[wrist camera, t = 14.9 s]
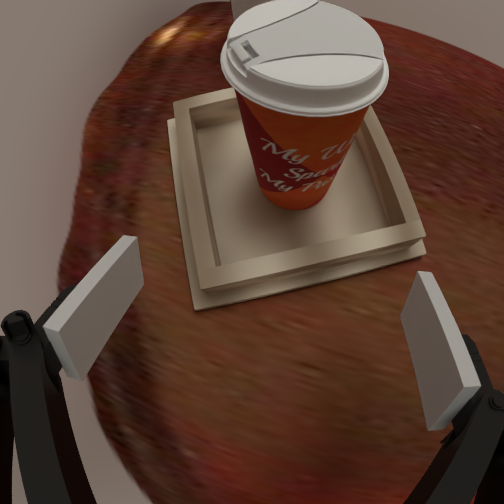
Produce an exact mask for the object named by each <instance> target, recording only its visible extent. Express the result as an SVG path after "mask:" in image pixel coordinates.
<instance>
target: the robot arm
mask: <svg viewBox="0 0 504 504" xmlns="http://www.w3.org/2000/svg"><path fill="white" fill-rule="evenodd" d="M143 285H144V280H143V273H142V267H141V260H140V253H139V246H138V239H137V237H134V236H125V235H123V236H122V237H121V238H120V239H119V240H118V242H117V243H116V244H115V245H114V246H113V247H112V248H111V249H110V250H109V251H108V252H107V253H106V254H105V255H104V256H103V257H102V258H101V260H100V261H99V262H98V263H97V264H96V265H95V266H94V267H93V268H92V269H91V270H90V272H89V273H88V274H87V275H86V276H85V277H84V278H83V279H82V281H81V282H80V283H79V284H78V285H77V286H76V285H71V286H70V287H68V288H66V289H65V290H63V291H62V292H61V293H60V295H59V296H58V297H57V298H56V300H54V301H53V303H52V304H51V306H49V307H48V309H46V311H45V312H44V313H43V314H42V315H41V317H40V318H39V319H38V320H37V321H36V323H35V324H33V322H32V319H31V317H30V315H29V313H27V312H26V311H23V310H18V311H14V312H12V313H10V314H9V315H7V316H6V317H5V318H4V319H3V321H2V323H1V328H2V330H3V332H4V334H5V335H6V336H0V504H12V460H13V459H12V458H13V443H14V437H15V443H16V450H17V455H18V461H19V467H20V472H21V477H22V481H23V486H24V490H25V494H26V498H27V501H28V504H97V503H96V500H95V498H94V495H93V493H92V490H91V487H90V485H89V482H88V479H87V476H86V473H85V470H84V467H83V464H82V461H81V458H80V455H79V451H78V448H77V445H76V441H75V438H74V434H73V430H72V427H71V423H70V419H69V414H68V410H67V406H66V401H65V397H64V392H63V387H62V382H61V378H60V376H59V371H60V370H61V368H62V367H63V369H64V371H65V373H66V375H67V376H68V377H71V378H74V379H76V380H79V381H83V380H84V378H85V376H86V375H87V373H88V371H89V370H90V368H91V366H92V365H93V363H94V361H95V360H96V358H97V356H98V355H99V353H100V352H101V350H102V348H103V347H104V345H105V343H106V342H107V340H108V339H109V337H110V336H111V334H112V332H113V331H114V329H115V328H116V326H117V324H118V323H119V321H120V320H121V318H122V317H123V315H124V314H125V312H126V311H127V309H128V308H129V306H130V304H131V303H132V301H133V300H134V298H135V297H136V295H137V294H138V292H139V291H140V289H141V288H142V286H143ZM400 318H401V322H402V325H403V329H404V332H405V336H406V339H407V343H408V346H409V350H410V354H411V358H412V362H413V366H414V370H415V374H416V378H417V382H418V387H419V391H420V395H421V400H422V405H423V410H424V415H425V420H426V425H427V430H428V431H430V430H442V429H445V428H446V427H447V426H448V424H449V423H450V422H451V421H452V424H453V428H454V429H453V430H452V431H451V432H450V433H449V434H448V435H447V436H446V437H445V438H444V439H443V440H442V441H441V442H440V443H441V444H442V443H443V442H444V444H443V445H442V447H441V449H440V450H439V452H438V454H437V455H436V457H435V458H434V460H433V462H432V463H431V465H430V466H429V468H428V469H427V471H426V472H425V474H424V475H423V477H422V478H421V480H420V481H419V483H418V484H417V486H416V487H415V488H414V490H413V491H412V493H411V494H410V495H409V497H408V498H407V499H406V501H405V502H404V503H403V504H470V502H471V500H472V499H473V497H474V495H475V493H476V491H477V493H476V497H475V501H474V504H504V394H503V393H501V392H500V391H498V390H494V389H493V387H492V384H491V381H490V379H489V376H488V373H487V371H486V368H485V366H484V363H482V359H481V356H480V355H479V351H478V349H477V347H476V345H475V343H474V342H473V340H472V339H471V338H470V337H469V336H468V335H462V334H461V333H460V331H459V329H458V326H457V324H456V322H455V320H454V318H453V315H452V313H451V311H450V309H449V307H448V305H447V303H446V300H445V298H444V296H443V294H442V292H441V290H440V288H439V286H438V284H437V282H436V280H435V278H434V276H433V275H432V273H431V272H422V271H417V274H416V277H415V279H414V282H413V285H412V287H411V290H410V293H409V295H408V298H407V300H406V303H405V305H404V308H403V310H402V313H401V315H400ZM477 489H478V490H477Z"/></svg>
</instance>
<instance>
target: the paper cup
mask: <svg viewBox="0 0 504 504" xmlns="http://www.w3.org/2000/svg"><path fill="white" fill-rule="evenodd" d="M383 51H384V48H383V45H382V42H381V40H380V38H379V36H378V34H377V33H376V31H375V30H374V29H373V28H372V27H371V26H370V25H369V24H368V23H367V22H365V21H364V20H363V19H362V18H360V17H359V16H357V15H356V14H354V13H352V12H350V11H348V10H346V9H344V8H341V7H339V6H335V5H333V4H329V3H326V2H323V1H319V0H274V1H270V2H266V3H263V4H260V5H257V6H255V7H253V8H251V9H249V10H247V11H246V12H244V13H243V14H242V15H240V16H239V17H238V18H237V19H236V20H235V22H234V23H233V25H232V26H231V28H230V30H229V33H228V36H227V41H226V42H225V44H224V46H223V49H222V52H221V66H222V71H223V73H224V75H225V77H226V79H227V80H228V82H229V83H230V84H231V86H232V87H233V88H234V90H235V93H236V97H237V101H238V105H239V109H240V113H241V118H242V122H243V127H244V131H245V136H246V139H247V143H248V146H249V150H250V154H251V157H252V161H253V165H254V169H255V173H256V176H257V180H258V183H259V186H260V188H261V191H262V192H263V194H264V195H265V197H266V198H267V199H268V200H269V201H270V202H272V203H273V204H274V205H276V206H278V207H280V208H283V209H287V210H304V209H307V208H310V207H312V206H314V205H316V204H317V203H318V202H319V201H320V200H321V199H322V198H323V197H324V196H325V194H326V193H327V191H328V190H329V188H330V186H331V184H332V182H333V180H334V178H335V176H336V174H337V172H338V170H339V168H340V166H341V164H342V162H343V160H344V158H345V156H346V154H347V152H348V150H349V148H350V146H351V144H352V142H353V140H354V138H355V136H356V134H357V131H358V129H359V127H360V125H361V123H362V121H363V119H364V117H365V114H366V112H367V110H368V108H369V106H370V104H372V103H373V102H374V101H375V100H377V99H378V98H379V97H380V96H381V94H382V93H383V91H384V90H385V88H386V85H387V82H388V77H389V70H388V64H387V61H386V58H385V56H384V53H383Z"/></svg>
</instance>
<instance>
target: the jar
mask: <svg viewBox="0 0 504 504" xmlns="http://www.w3.org/2000/svg"><path fill="white" fill-rule="evenodd" d="M270 1H274V0H230V3H231V10H232V17H233V23H234V22H235V20H236V19H237V18H238V17H239V16H240V15H242V14H243V13H244V12H246V11H247V10H249V9H251V8H253V7H255V6H257V5H260V4H263V3H266V2H270Z"/></svg>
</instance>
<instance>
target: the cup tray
mask: <svg viewBox="0 0 504 504" xmlns="http://www.w3.org/2000/svg"><path fill="white" fill-rule="evenodd" d="M173 106H174V115H175V118H174V119H170V120H167V122H168V132H169V142H170V151H171V159H172V168H173V176H174V184H175V191H176V199H177V206H178V213H179V220H180V227H181V233H182V240H183V246H184V252H185V258H186V264H187V270H188V276H189V282H190V287H191V293H192V298H193V304H194V309H195V310H197V311H200V310H205V309H210V308H214V307H219V306H224V305H229V304H233V303H238V302H242V301H247V300H252V299H256V298H260V297H265V296H269V295H274V294H278V293H282V292H287V291H291V290H295V289H299V288H303V287H308V286H312V285H316V284H320V283H324V282H328V281H332V280H336V279H340V278H344V277H348V276H352V275H355V274H359V273H363V272H367V271H371V270H374V269H378V268H382V267H386V266H389V265H393V264H397V263H400V262H404V261H407V260H411V259H415V258H418V257H421V256H423V255H425V254H427V253H426V250H425V247H424V244H423V241H422V238H424V237H425V236H426V234H425V231H424V228H423V225H422V223H421V220H420V217H419V214H418V211H417V209H416V206H415V203H414V201H413V198H412V195H411V193H410V190H409V188H408V185H407V183H406V180H405V178H404V175H403V173H402V170H401V168H400V166H399V163H398V161H397V159H396V157H395V154H394V152H393V150H392V148H391V145H390V143H389V141H388V139H387V137H386V135H385V133H384V131H383V129H382V126H381V124H380V122H379V120H378V118H377V116H376V114H375V112H374V110H373V109H372V107H371V105H370V106H369V108H368V110H367V112H366V114H365V117H364V119H363V121H362V123H361V125H360V127H359V129H358V131H357V134H356V136H355V138H354V140H353V142H352V144H351V146H350V148H349V150H348V152H347V154H346V156H345V158H344V160H343V162H342V164H341V166H340V168H339V170H338V172H337V174H336V176H335V178H334V180H333V182H332V184H331V186H330V188H329V190H328V191H327V193H326V194H325V196H324V197H323V198H322V199H321V200H320V201H319V202H318V203H317V204H316V205H314V206H312V207H310V208H307V209H304V210H287V209H283V208H280V207H278V206H276V205H274V204H273V203H272V202H270V201H269V200H268V199H267V198H266V197H265V195H264V194H263V192H262V191H261V188H260V186H259V183H258V180H257V176H256V173H255V169H254V165H253V161H252V157H251V154H250V150H249V146H248V143H247V139H246V136H245V131H244V127H243V122H242V118H241V113H240V109H239V105H238V101H237V97H236V93H235V90H234V88H228V89H224V90H219V91H215V92H211V93H206V94H202V95H198V96H194V97H191V98H187V99H183V100H179V101H176V102H173Z"/></svg>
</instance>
